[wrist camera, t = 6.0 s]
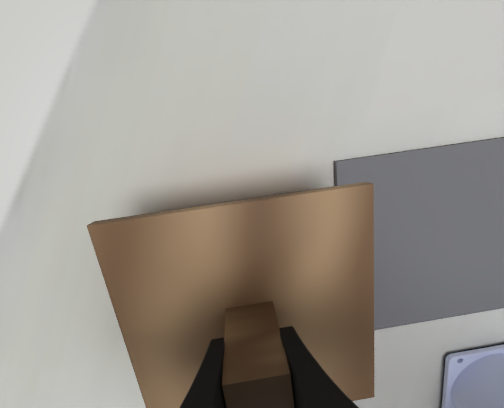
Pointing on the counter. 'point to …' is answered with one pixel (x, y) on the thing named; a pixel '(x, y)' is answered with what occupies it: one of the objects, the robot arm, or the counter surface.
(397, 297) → the mat
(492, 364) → the robot arm
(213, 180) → the counter surface
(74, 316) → the counter surface
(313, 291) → the lid
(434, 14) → the counter surface
